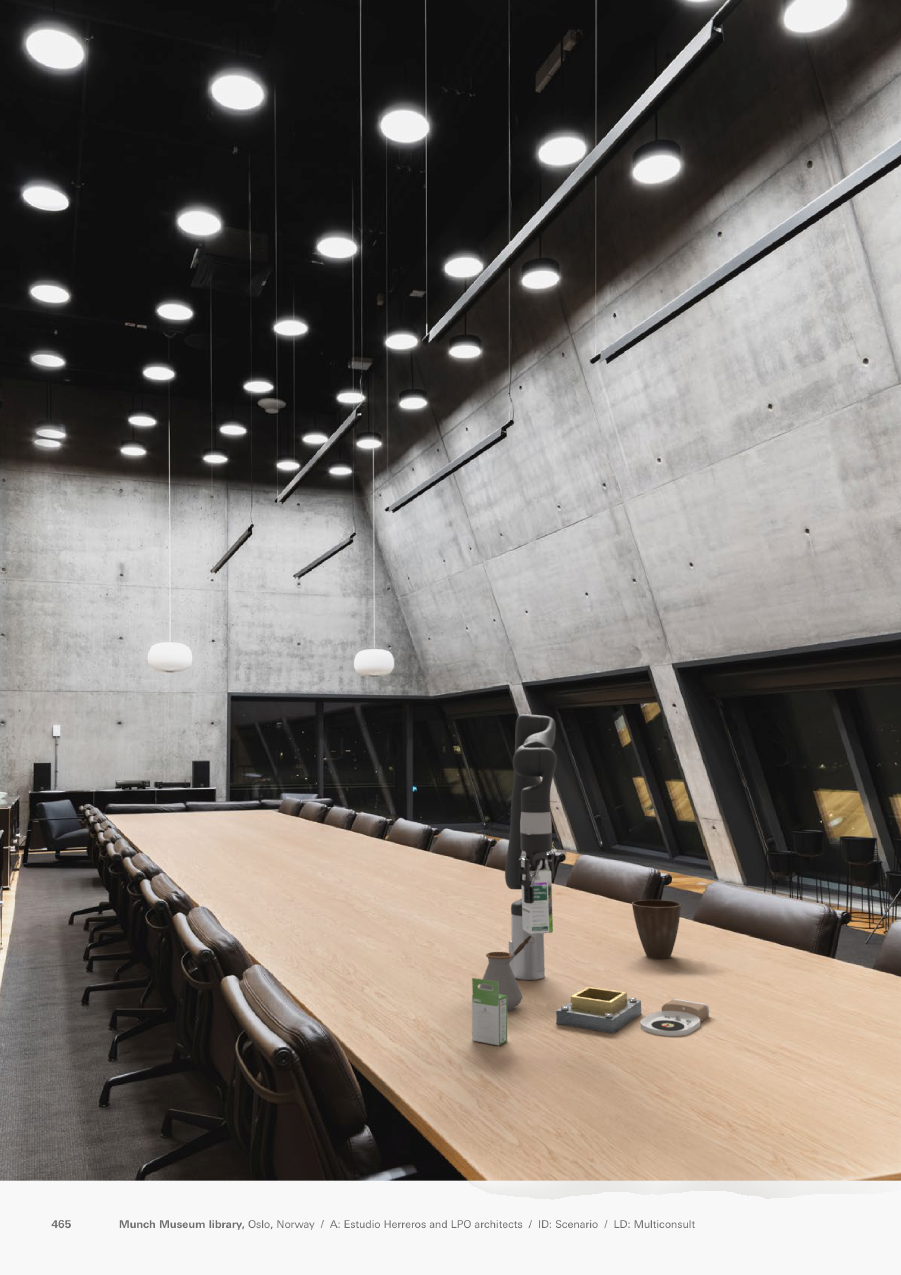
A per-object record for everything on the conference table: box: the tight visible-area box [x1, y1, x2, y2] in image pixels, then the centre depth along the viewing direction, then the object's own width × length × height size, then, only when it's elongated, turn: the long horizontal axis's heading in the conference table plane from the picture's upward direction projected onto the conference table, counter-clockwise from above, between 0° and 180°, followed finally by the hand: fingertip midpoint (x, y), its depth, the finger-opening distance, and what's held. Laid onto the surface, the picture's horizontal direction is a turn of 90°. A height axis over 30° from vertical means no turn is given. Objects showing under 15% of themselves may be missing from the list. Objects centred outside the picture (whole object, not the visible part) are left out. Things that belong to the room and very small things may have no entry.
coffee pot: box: [478, 936, 535, 1013], centre depth 223 cm, size 21×12×15 cm, turn 143°
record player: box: [640, 998, 710, 1037], centre depth 205 cm, size 12×3×20 cm
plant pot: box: [631, 899, 682, 960], centre depth 273 cm, size 15×15×16 cm
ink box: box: [471, 977, 508, 1046], centre depth 193 cm, size 7×4×13 cm, turn 56°
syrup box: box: [521, 869, 554, 934], centre depth 210 cm, size 6×6×14 cm
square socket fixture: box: [555, 986, 642, 1035], centre depth 209 cm, size 14×18×6 cm
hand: (537, 900), depth 210 cm, fingers closed on syrup box, 8 cm apart
